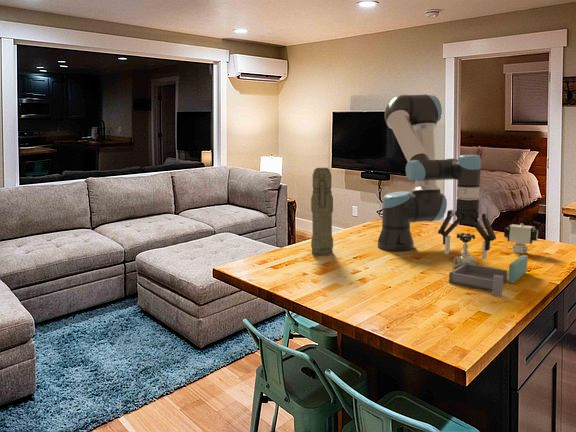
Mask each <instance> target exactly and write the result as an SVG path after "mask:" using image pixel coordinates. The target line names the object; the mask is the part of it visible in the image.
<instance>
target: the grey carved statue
mask: <svg viewBox="0 0 576 432" xmlns="http://www.w3.org/2000/svg"><path fill="white" fill-rule="evenodd" d="M332 193H333V192H332V172H331V169H330V168H328V167H316V168H315V169H313V173H312V194H311V197H310V209H311V210H310V212H311V215H312V217H311V218H312V235H311V239H310V240H311V241H310V242H311V244H310V246H311V255H314V256H322V257H323V256H330V255H333V254H334V251H333V249H334V238H333V223H332V222H333V211H334V197H333V194H332Z"/></svg>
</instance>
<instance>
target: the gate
mask: <svg viewBox="0 0 576 432" xmlns="http://www.w3.org/2000/svg"><path fill="white" fill-rule="evenodd" d="M528 256H529V255H525V254H522V255H520V256H519V257H518V258H516V259H515V260H514V261H512V262H510V264H508V266H509V267H508V276H507V283H510V284H514V283H515V282H516V281H518V280H519V279H520V278H522V277H523V276H524V275H525V274H526V273H527V270H528V269H527V268H528V259H529V258H528Z"/></svg>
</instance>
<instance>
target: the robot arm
mask: <svg viewBox="0 0 576 432" xmlns="http://www.w3.org/2000/svg"><path fill="white" fill-rule="evenodd" d="M442 113H443V108H442V103H441V101H440V99H439V98H438V97H437V96H436V95H433V94H425V93H424V94H401V95H397V96H395V97H393V98H392V99H391V100H390V101H389V102H388V104H387V105H386V107H385V110H384V121H385V123H386V125H387V127H388V128H389V129H391V130H392V132H393V134H394V137H395V138H396V141H397V142H398V145H399V146H400V149H401V151H402V153H403V155H404V157H405V159H406V161H407V163H406V164H405V175H406V176H405V177H406V178H407V179H408V180H409V181H415V182H414V183H415V187H414V188H413V189H412V191H408V190H407V191H406V190H405V191H404V190H402V191H395V192H394V191H393V192H389V193H387V194H385V195H384V196H383V198H382V205H381V207H382V209H381V210H382V213H381V215H382V217H381V221H382V222H381V231H380V233H379V236H378V239H377V247H378V248H379V249H382V250H386V251H392V252H405V251H410V250H413V249H414V247H415V244H414V242H415V241H414V238H413V235H412V232H411V223H419V222H420V223H421V222H422V223H423V222H435V221H440V220H441V219H442V218H444V216H445V215H446V217H445V219H444V220H443V222H442V224H441V226H440V228H438V231H437V233H438V235H441V236H442V245H444V255H447V254H450V252H451V235H450V233H451V232H452V231H453V230H454V229H455V228H456V227H457V226H458V225H460V224H462V225H470V226H471V225H472V226H473V227H474V228H475V229H476V231H477V232H478V233H479V234H480V236H481V237H482V239H483V241H482V248H481V249H482V250H481V260H483V261H485V260H486V259H487V255H488V251H490V249H491V242H493V241H495V240H497V237H496V234H495V232H494V230H493V227H492V225H491V223H490V220H489V214H488V212H484V213H480V212H479V207H480V199H479V198H480V186H481V174H482V173H481V172H482V165H481V164H482V160H481V159H482V158H481V156H480V155H479V154H461V155H459V157H458V159H457V158H446V159H445V158H444V159H436V154H435V152H436V151H435V137H434V135H435V134H434V129H435V128H436V127H437V126H438V122H440V120H441V118H442ZM442 180H443V181H444V180H454V181H455V180H456V181H457V185H456V187H457V188H456V189H457V190H456V198H457V199H456V207H455V208H456V210H453V209H449V210H447V207H448V202H447V198H446V195H445V193H442V192H441V188H440V187H439V186H437V181H442ZM446 212H447V213H446ZM454 216H455V217H456V219H455V221H453V223H451V225H450V226H449V227H448V225H449V224H450V221H451V220H452V218H453V217H454ZM479 218H480V219H481V221H482V223H483V225H484V227H483V226H482V224H481V222H479V220H478V219H479ZM447 227H448V228H447ZM484 228H485V229H484Z"/></svg>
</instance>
